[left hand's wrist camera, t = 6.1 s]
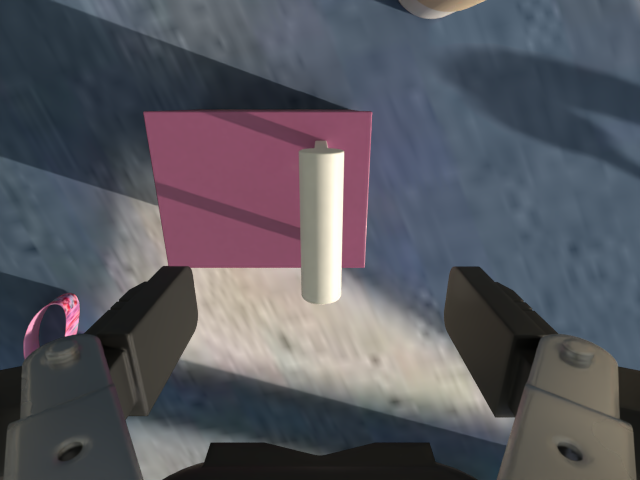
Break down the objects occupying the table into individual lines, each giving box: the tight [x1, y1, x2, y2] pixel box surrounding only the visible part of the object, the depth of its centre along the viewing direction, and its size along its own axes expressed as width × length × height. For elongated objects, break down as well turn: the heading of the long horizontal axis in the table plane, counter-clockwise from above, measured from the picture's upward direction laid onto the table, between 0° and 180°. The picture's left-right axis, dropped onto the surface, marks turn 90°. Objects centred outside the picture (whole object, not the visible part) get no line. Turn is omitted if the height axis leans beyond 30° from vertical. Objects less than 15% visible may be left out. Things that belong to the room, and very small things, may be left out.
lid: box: [143, 111, 372, 304], centre depth 20 cm, size 14×10×9 cm
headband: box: [23, 293, 80, 359], centre depth 37 cm, size 11×4×2 cm, turn 158°
